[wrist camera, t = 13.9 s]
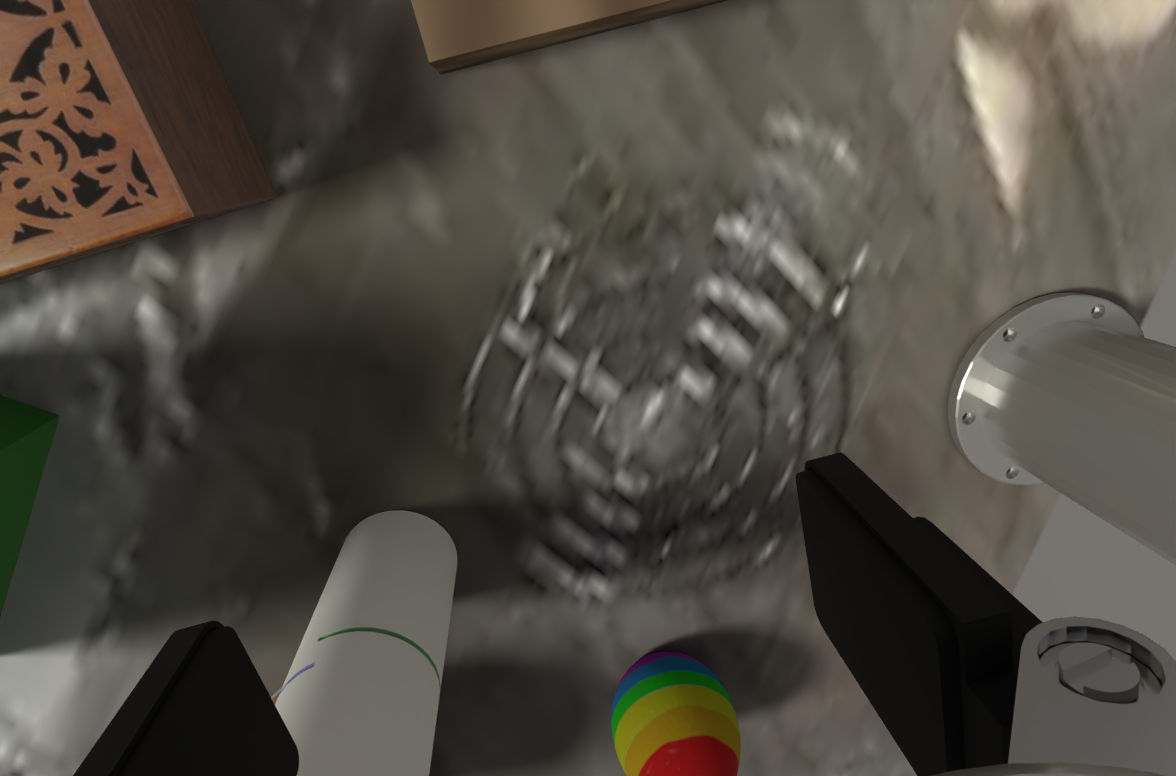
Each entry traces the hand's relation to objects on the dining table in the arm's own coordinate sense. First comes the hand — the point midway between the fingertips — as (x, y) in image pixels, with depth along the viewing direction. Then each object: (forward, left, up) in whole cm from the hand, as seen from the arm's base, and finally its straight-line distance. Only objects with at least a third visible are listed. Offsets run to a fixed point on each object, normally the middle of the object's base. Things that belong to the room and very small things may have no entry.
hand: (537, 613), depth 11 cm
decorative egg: (-2, +30, -28) cm, 41 cm away
